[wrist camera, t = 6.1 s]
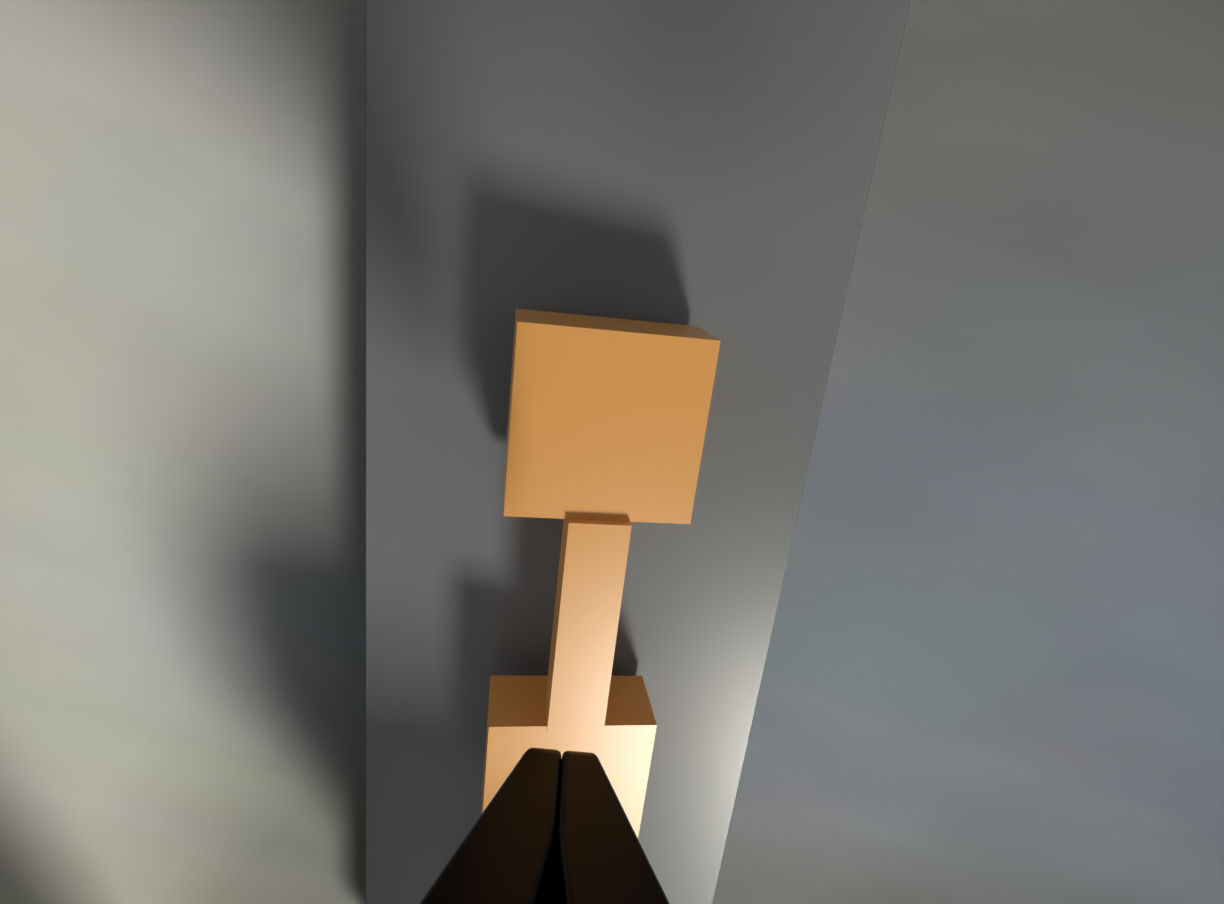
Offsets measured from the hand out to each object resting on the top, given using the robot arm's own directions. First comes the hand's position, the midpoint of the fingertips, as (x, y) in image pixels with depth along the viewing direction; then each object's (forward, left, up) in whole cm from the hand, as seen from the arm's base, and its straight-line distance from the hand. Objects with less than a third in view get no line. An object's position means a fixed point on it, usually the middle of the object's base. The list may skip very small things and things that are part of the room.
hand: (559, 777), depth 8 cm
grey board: (0, 0, -8) cm, 8 cm away
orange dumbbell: (0, 0, -5) cm, 5 cm away
